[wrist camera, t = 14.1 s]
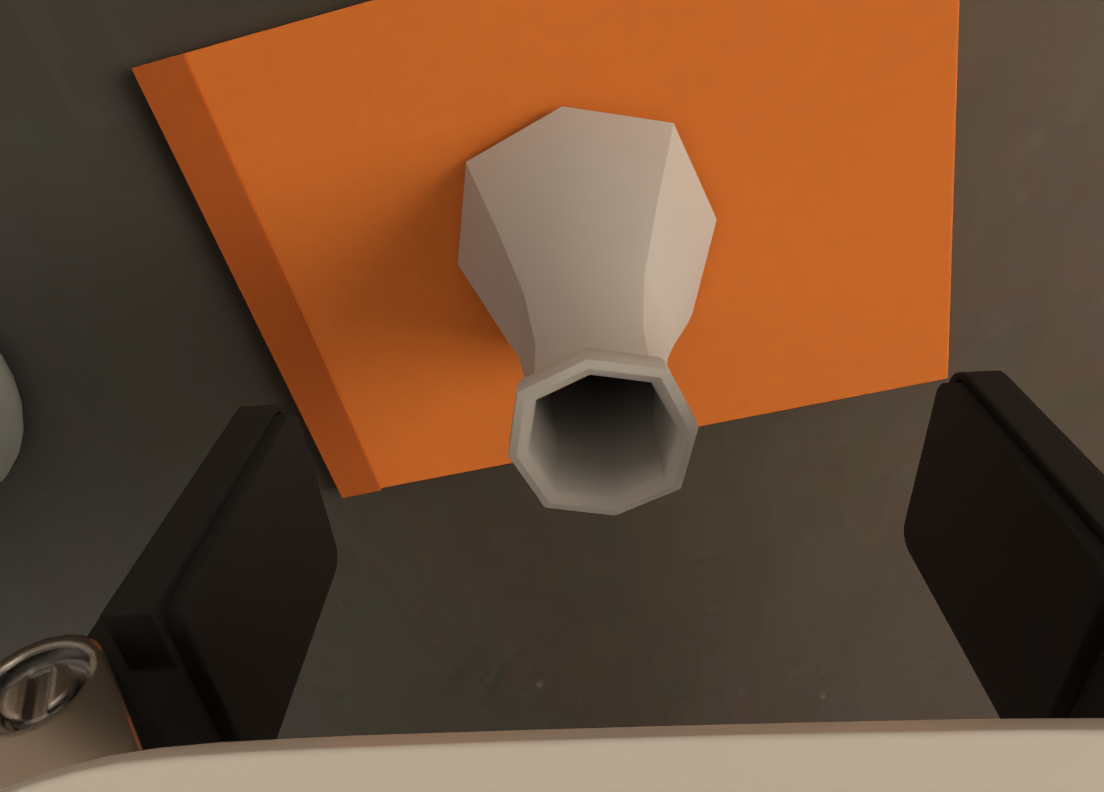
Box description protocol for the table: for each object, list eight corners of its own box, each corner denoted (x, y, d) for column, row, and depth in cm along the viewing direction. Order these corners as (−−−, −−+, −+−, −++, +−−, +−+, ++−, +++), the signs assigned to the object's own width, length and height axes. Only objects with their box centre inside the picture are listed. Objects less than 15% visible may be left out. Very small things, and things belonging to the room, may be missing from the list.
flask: (704, 76, 19) (825, 192, 10) (723, 332, 23) (823, 573, 14) (425, 130, 20) (321, 279, 11) (487, 370, 23) (445, 620, 15)
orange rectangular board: (142, 65, 19) (130, 68, 19) (955, -165, 17) (967, -168, 16) (346, 487, 26) (342, 498, 26) (941, 370, 24) (950, 380, 23)
